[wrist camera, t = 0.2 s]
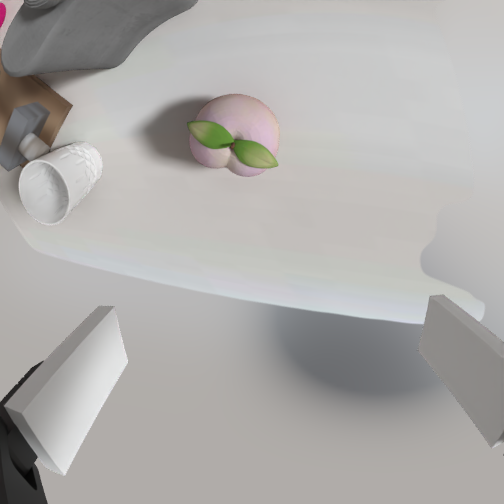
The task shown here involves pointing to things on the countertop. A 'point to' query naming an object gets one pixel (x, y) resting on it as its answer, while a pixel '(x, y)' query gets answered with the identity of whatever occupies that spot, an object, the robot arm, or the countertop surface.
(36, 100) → the block
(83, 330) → the robot arm
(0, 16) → the pepper mill
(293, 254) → the countertop surface
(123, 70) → the countertop surface
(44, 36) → the flask
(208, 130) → the decorative fruit
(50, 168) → the white cup
